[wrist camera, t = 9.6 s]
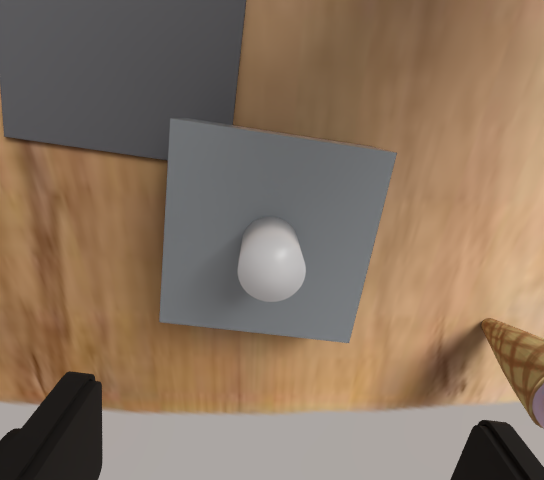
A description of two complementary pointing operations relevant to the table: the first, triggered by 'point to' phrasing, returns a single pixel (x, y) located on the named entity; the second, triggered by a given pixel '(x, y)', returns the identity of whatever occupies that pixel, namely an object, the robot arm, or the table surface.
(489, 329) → the ice cream cone
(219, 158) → the lid
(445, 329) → the table surface
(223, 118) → the rubber mat
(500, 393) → the table surface
